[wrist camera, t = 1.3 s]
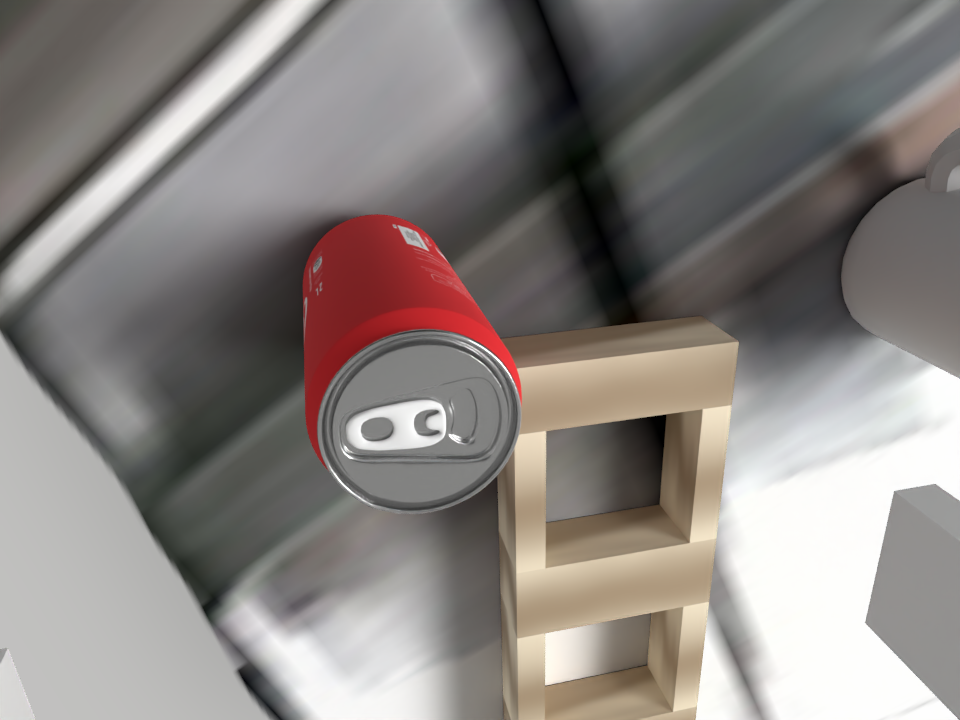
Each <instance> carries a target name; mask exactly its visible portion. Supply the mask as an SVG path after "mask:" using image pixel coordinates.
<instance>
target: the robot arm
mask: <svg viewBox="0 0 960 720" xmlns="http://www.w3.org/2000/svg"><path fill="white" fill-rule="evenodd" d="M865 623H866V624H867V625H868V626H869V627H870V628H871V629H872V630H873V631H874V632H875V633H876V635H877V636H878V637H879V638H880V639H881V640H882V641H883V642H884V643H885V644H886V645H887V646H888V647H889V648H890V649H891V650H892V651H893V652H894V653H895V654H896V655H897V656H898V657H899V658H900V659H901V660H902V661H903V662H904V663H905V664H906V665H907V667H908V668H909V669H910V670H911V671H912V672H913V673H914V674H915V675H916V676H917V677H918V678H919V679H920V680H921V681H922V682H923V683H924V684H925V685H926V686H927V687H928V688H929V689H930V690H931V691H932V692H933V693H934V694H935V695H936V696H937V697H938V699H939V700H940V701H941V702H942V703H943V704H944V705H945V706H946V707H947V708H948V709H949V710H950V711H951V712H952V713H953V714H954V715H955V716H956V717H957V718H958V719H959V720H960V501H959V500H957V499H956V498H954V497H953V496H952V495H950V494H949V493H947V492H946V491H944V490H943V489H942V488H940V487H939V486H937V485H936V484H932V485H927V486H921V487H915V488H910V489H904V490H898V491H894V495H893V499H892V504H891V508H890V513H889V517H888V522H887V526H886V531H885V535H884V540H883V545H882V549H881V554H880V558H879V563H878V567H877V572H876V576H875V581H874V585H873V590H872V595H871V599H870V604H869V608H868V613H867V617H866V622H865ZM0 720H36V719H35V717H34V714H33V712H32V709H31V706H30V704H29V701H28V699H27V696H26V694H25V691H24V688H23V686H22V683H21V680H20V678H19V675H18V673H17V670H16V667H15V665H14V663H13V660H12V658H11V655H10V652H9V649H8V648H5V649H0Z"/></svg>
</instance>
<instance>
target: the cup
mask: <svg viewBox="0 0 960 720" xmlns="http://www.w3.org/2000/svg"><path fill="white" fill-rule="evenodd" d="M841 283H842V290H843V296H844V301H845V303H846V305H847V307H848V309H849V311H850V314H851V316H852V317H853V318H854V319H855V320H856V321H857V322H858V323H859V324H860V325H861V326H862V327H863V328H864V329H866V330H867V331H869V332H871V333H872V334H874V335H876V336H878V337H880V338H881V339H883V340H885V341H887V342H889V343H891V344H893V345H895V346H897V347H899V348H901V349H903V350H905V351H907V352H909V353H911V354H913V355H915V356H917V357H919V358H921V359H923V360H925V361H927V362H929V363H931V364H933V365H934V366H936V367H938V368H940V369H942V370H944V371H946V372H948V373H950V374H952V375H954V376H956V377H958V378H960V128H958V129H956V130H955V131H954V132H953V133H951V134H950V135H949V136H948V137H947V138H946V139H945V140H944V141H943V142H942V143H941V144H940V145H939V146H938V148H937V149H936V150H935V151H934V152H933V153H932V155H931V158H930V161H929V164H928V167H927V170H926V178H921V179H917V180H915V181H913V182H910V183H908V184H906V185H904V186H901V187H899V188H897V189H896V190H894V191H892V192H891V193H890V194H888V195H887V196H886V197H884V198H883V199H882V200H880V201H879V202H877V203H876V204H875V205H874V206H873V207H872V209H871V210H870V211H869V212H868V213H867V214H866V215H865V216H864V217H863V219H862V220H861V221H860V223H859V225H858V226H857V228H856V230H855V231H854V233H853V235H852V236H851V238H850V240H849V243H848V246H847V249H846V252H845V255H844V258H843V264H842V272H841Z"/></svg>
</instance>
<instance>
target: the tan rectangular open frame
mask: <svg viewBox="0 0 960 720" xmlns="http://www.w3.org/2000/svg"><path fill="white" fill-rule="evenodd" d="M501 341H502V342H503V344H504V345H505V347H506V348H507V350H508V351H509V353H510V355H511V357H512V359H513V360H514V363H515V365H516V368H517V371H518V374H519V378H520V382H521V390H522V406H521V413H522V415H521V427H520V432H519V436H518V440H517V443H516V445H515V448H514V450H513V452H512V455H511V456H510V458H509V460H508V462H507V463H506V465H505V466H504V468H503V469H502V470H501V472H500V473H499V474H498V475H497V479H498V518H499V556H500V595H501V634H502V673H503V712H504V720H695V718H696V709H697V701H698V692H699V683H700V675H701V666H702V657H703V649H704V640H705V631H706V623H707V614H708V605H709V597H710V588H711V580H712V571H713V562H714V554H715V545H716V536H717V528H718V519H719V510H720V502H721V493H722V484H723V476H724V467H725V458H726V450H727V441H728V432H729V424H730V415H731V407H732V398H733V389H734V381H735V372H736V363H737V355H738V346H739V341H737V340H736V339H735V338H733V337H732V336H730V335H729V334H727V333H726V332H724V331H723V330H721V329H720V328H718V327H717V326H715V325H714V324H713V323H711V322H710V321H708V320H707V319H705V318H704V317H702V316H696V317H687V318H678V319H669V320H660V321H652V322H643V323H634V324H625V325H616V326H608V327H599V328H590V329H581V330H572V331H563V332H555V333H546V334H537V335H528V336H519V337H511V338H502V339H501ZM665 414H666V427H665V440H664V453H663V466H662V479H661V492H660V504H659V505H653V506H647V507H641V508H635V509H629V510H623V511H616V512H610V513H604V514H598V515H592V516H586V517H580V518H574V519H567V520H561V521H555V522H549V523H546V431H550V430H557V429H564V428H571V427H578V426H586V425H593V424H600V423H607V422H614V421H622V420H629V419H636V418H643V417H650V416H657V415H665ZM648 613H651V622H650V635H649V648H648V661H647V666H642V667H637V668H632V669H627V670H622V671H618V672H613V673H608V674H603V675H598V676H593V677H589V678H584V679H579V680H574V681H569V682H564V683H559V684H555V685H550V686H545V633H549V632H554V631H560V630H565V629H570V628H575V627H581V626H586V625H591V624H596V623H601V622H607V621H612V620H617V619H622V618H627V617H633V616H638V615H643V614H648Z"/></svg>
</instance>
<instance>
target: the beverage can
mask: <svg viewBox="0 0 960 720" xmlns="http://www.w3.org/2000/svg"><path fill="white" fill-rule="evenodd" d="M303 320H304V369H305V415H306V425H307V430H308V434H309V438H310V441H311V443H312V446H313V448H314V450H315V452H316V454H317V456H318V458H319V459H320V461H321V462H322V464H323V465H324V466H325V467H326V469H327V470H328V471H329V472H330V474H331V475H332V477H333V478H334V479H335V480H336V482H337V483H338V484H339V485H340V486H341V487H342V488H343V489H344V490H345V491H347V492H348V493H349V494H350V495H352V496H353V497H354V498H356V499H357V500H359V501H360V502H362V503H363V504H365V505H367V506H369V507H372V508H375V509H379V510H383V511H388V512H393V513H401V514H421V513H429V512H434V511H439V510H443V509H446V508H449V507H452V506H454V505H457V504H459V503H461V502H463V501H465V500H467V499H469V498H471V497H472V496H474V495H475V494H477V493H478V492H480V491H481V490H482V489H484V488H485V487H486V486H487V485H488V484H489V483H490V482H491V481H492V480H493V479H494V478H495V477H496V476H497V475H498V474H499V473H500V472H501V470H502V469H503V468H504V466H505V465H506V463H507V462H508V460H509V458H510V456H511V455H512V452H513V450H514V448H515V445H516V443H517V440H518V436H519V432H520V427H521V415H522V413H521V406H522V390H521V382H520V378H519V374H518V371H517V368H516V365H515V363H514V360H513V359H512V357H511V355H510V353H509V351H508V350H507V348H506V347H505V345H504V344H503V342H502V341H501V339H500V338H499V336H498V335H497V333H496V332H495V330H494V329H493V327H492V326H491V325H490V323H489V322H488V320H487V319H486V317H485V316H484V314H483V313H482V311H481V310H480V308H479V307H478V305H477V304H476V302H475V301H474V300H473V298H472V297H471V295H470V294H469V292H468V291H467V289H466V288H465V286H464V285H463V283H462V282H461V280H460V279H459V278H458V276H457V275H456V273H455V272H454V270H453V269H452V267H451V266H450V264H449V263H448V261H447V260H446V258H445V257H444V255H443V254H442V253H441V251H440V250H439V248H438V247H437V245H436V244H435V243H434V241H433V240H432V239H431V238H430V237H429V236H428V235H427V234H426V233H425V232H424V231H423V230H421V229H420V228H419V227H417V226H416V225H414V224H412V223H410V222H408V221H406V220H403V219H401V218H397V217H393V216H388V215H365V216H360V217H356V218H353V219H350V220H347V221H345V222H343V223H341V224H339V225H337V226H336V227H334V228H333V229H332V230H330V231H329V232H328V233H327V234H326V235H324V236H323V237H322V239H321V240H320V241H319V242H318V243H317V244H316V246H315V247H314V249H313V250H312V252H311V254H310V256H309V258H308V261H307V264H306V267H305V271H304V276H303Z"/></svg>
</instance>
